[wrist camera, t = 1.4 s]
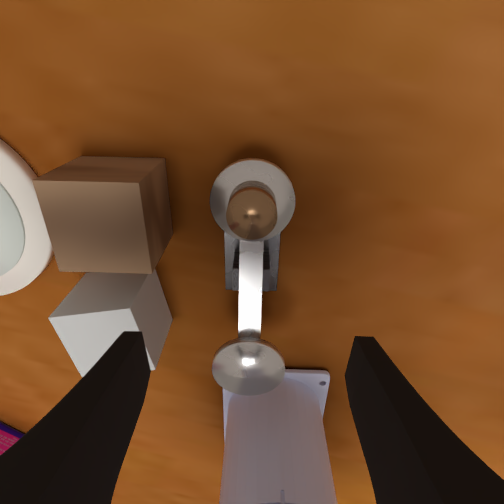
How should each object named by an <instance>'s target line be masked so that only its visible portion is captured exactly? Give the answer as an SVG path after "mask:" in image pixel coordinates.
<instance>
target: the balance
mask: <svg viewBox="0 0 504 504" xmlns="http://www.w3.org/2000/svg"><path fill="white" fill-rule="evenodd" d="M210 208H211V212H212V215H213V217H214V219H215V221H216V223H217V224H218V225H219V227H220V228H221V229H222V230H223V231H224V235H225V280H226V289H230V290H237V291H239V326H238V338H237V339H233V340H231V341H228V342H226V343H225V344H223V345H222V346H221V347H220V348H219V349H218V350H217V351H216V353H215V355H214V359H213V365H212V373H213V376H214V378H215V380H216V382H217V383H218V384H219V385H220V386H221V387H223V388H224V389H226V390H227V391H229V392H232V393H235V394H238V395H245V396H254V395H261V394H264V393H267V392H269V391H271V390H273V389H275V388H276V387H277V386H278V385H279V384H280V383H281V382H282V380H283V378H284V375H285V362H284V358H283V355H282V353H281V352H280V350H279V349H278V348H277V347H276V346H274V345H273V344H271V343H270V342H268V341H265V340H262V339H260V335H261V306H262V291H277V276H278V261H279V246H280V232H281V231H282V230H283V229H284V228H285V227H286V226H287V225H288V223H289V222H290V220H291V218H292V216H293V213H294V209H295V193H294V190H293V186H292V183H291V181H290V179H289V178H288V176H287V175H286V173H285V172H284V171H283V170H282V169H281V168H280V167H278V166H277V165H276V164H274V163H272V162H270V161H267V160H265V159H260V158H245V159H241V160H237V161H235V162H233V163H231V164H230V165H228V166H227V167H225V168H224V169H223V170H222V171H221V172H220V173H219V175H218V176H217V178H216V180H215V182H214V184H213V186H212V190H211V194H210Z"/></svg>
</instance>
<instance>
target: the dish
mask: <svg viewBox="0 0 504 504" xmlns="http://www.w3.org/2000/svg"><path fill="white" fill-rule="evenodd" d="M36 178H38V177H37V175H36V174H35V173H34V171H33V170H32V169H31V168H30V166H29V165H28V164H27V163H26V162H25V161H24V160H23V159H22V157H21V156H20V155H19V154H18V153H17V152H16V151H14V150H13V149H12V148H11V147H10V146H9V145H8V144H6V143H5V142H4V141H3V140H1V139H0V295H6V294H9V293H13V292H15V291H18V290H20V289H22V288H24V287H25V286H27V285H28V284H30V283H31V282H32V281H33V280H34V279H35V278H36V277H37V276H38V275H39V274H40V273H41V272H43V271H44V270H45V269H46V267H47V266H48V265H49V263H50V262H51V260H52V258H53V256H54V252H53V248H52V245H51V242H50V238H49V235H48V232H47V228H46V225H45V222H44V219H43V215H42V212H41V209H40V205H39V202H38V199H37V195H36V192H35V189H34V186H33V182H32V180H34V179H36Z"/></svg>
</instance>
